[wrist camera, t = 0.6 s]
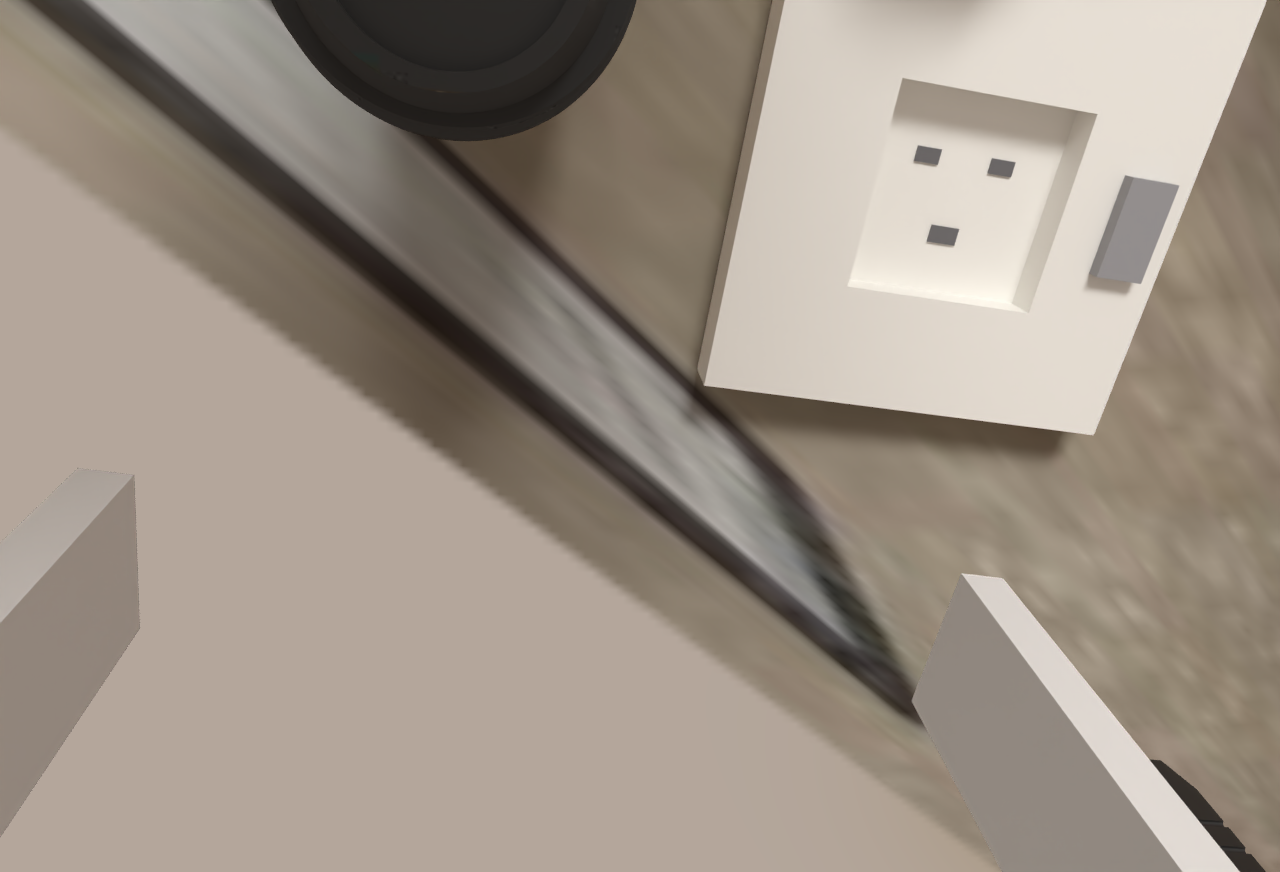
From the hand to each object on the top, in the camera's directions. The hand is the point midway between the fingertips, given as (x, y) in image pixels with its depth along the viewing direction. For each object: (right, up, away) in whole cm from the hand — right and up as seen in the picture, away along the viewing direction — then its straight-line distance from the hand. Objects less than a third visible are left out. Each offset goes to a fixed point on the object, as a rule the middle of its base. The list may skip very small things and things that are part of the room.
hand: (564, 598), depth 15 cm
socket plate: (+14, +13, +23) cm, 30 cm away
